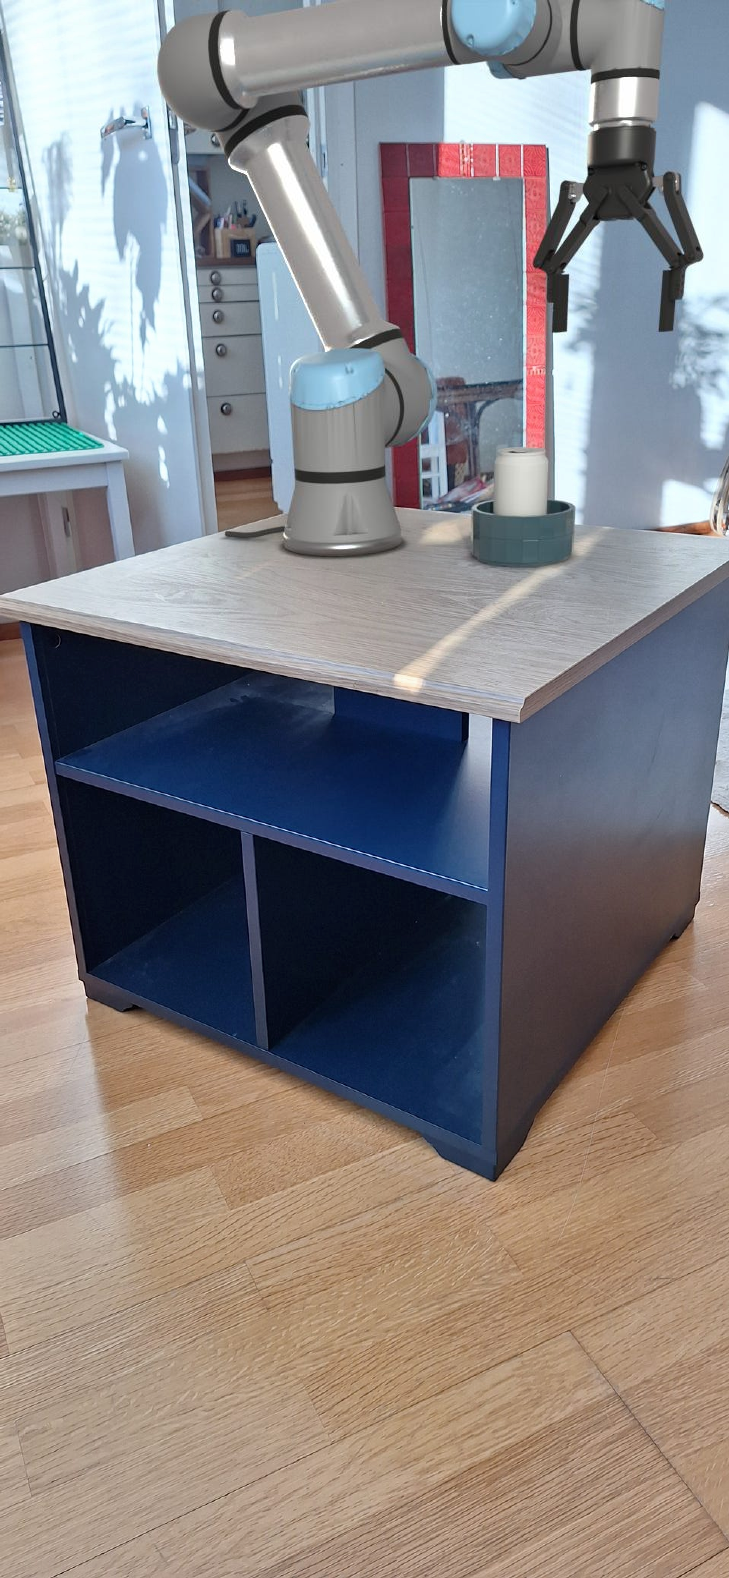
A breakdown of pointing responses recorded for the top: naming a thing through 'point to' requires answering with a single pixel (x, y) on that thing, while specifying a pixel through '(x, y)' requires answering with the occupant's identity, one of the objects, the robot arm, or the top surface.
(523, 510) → the beverage can
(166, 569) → the top surface
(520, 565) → the bowl
